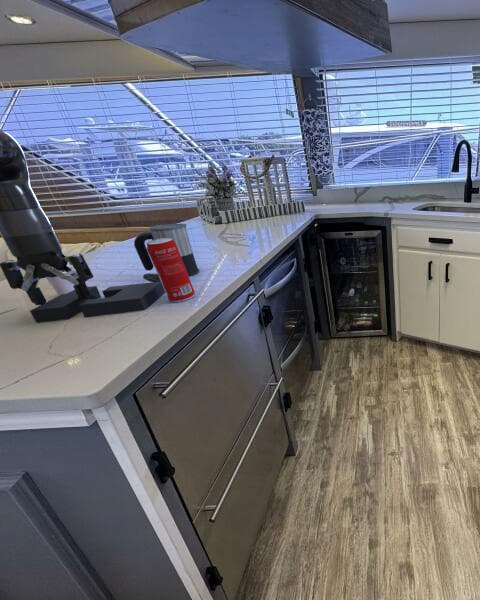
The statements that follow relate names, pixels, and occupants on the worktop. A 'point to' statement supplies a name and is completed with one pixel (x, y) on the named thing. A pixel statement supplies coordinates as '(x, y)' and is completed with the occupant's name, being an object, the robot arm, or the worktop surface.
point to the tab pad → (62, 306)
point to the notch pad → (123, 299)
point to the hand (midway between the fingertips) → (63, 301)
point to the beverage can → (170, 269)
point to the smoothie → (61, 284)
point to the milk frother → (178, 236)
